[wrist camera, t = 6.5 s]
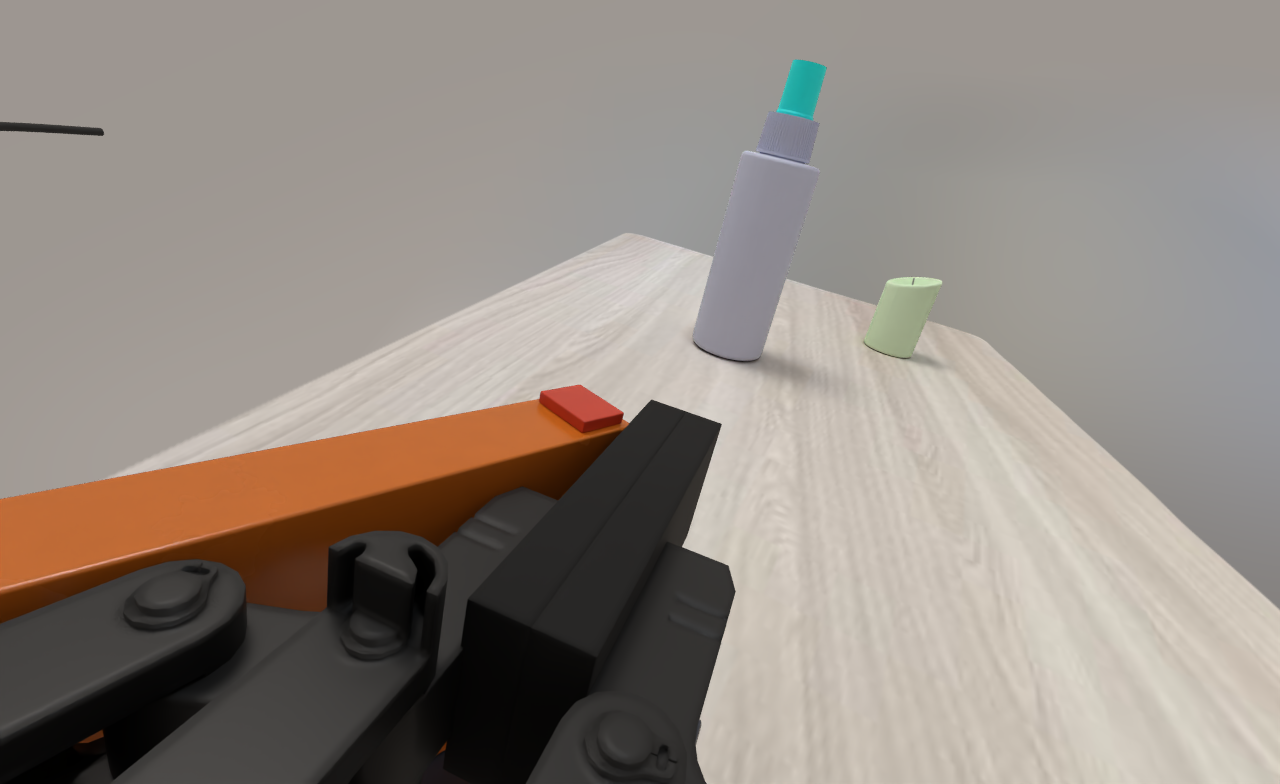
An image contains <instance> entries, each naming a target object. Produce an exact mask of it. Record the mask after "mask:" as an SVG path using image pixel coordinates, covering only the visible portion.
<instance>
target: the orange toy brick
mask: <svg viewBox="0 0 1280 784" xmlns="http://www.w3.org/2000/svg"><path fill="white" fill-rule="evenodd" d="M623 415H624V413H623V412H622V411H620V410H619V409H617V408H616V407H614V406H613V405H611V404H609V403H608V402H606V401H605V400H603V399H602V398H600V397H599V396H597V395H596V394H594V393H592V392H591V391H589V390H588V389H586V388H585V387H583V386H582V385H575V386H569V387H563V388H557V389H552V390H546V391H541V393H540V399H537V400H531V401H526V402H520V403H515V404H510V405H504V406H499V407H493V408H488V409H483V410H477V411H472V412H466V413H461V414H456V415H450V416H445V417H440V418H434V419H429V420H423V421H418V422H413V423H407V424H402V425H396V426H391V427H386V428H380V429H375V430H370V431H364V432H359V433H353V434H348V435H343V436H337V437H332V438H326V439H321V440H316V441H310V442H305V443H300V444H294V445H289V446H283V447H278V448H273V449H267V450H262V451H256V452H251V453H246V454H240V455H235V456H230V457H224V458H219V459H213V460H208V461H203V462H197V463H192V464H186V465H181V466H176V467H170V468H165V469H160V470H154V471H149V472H143V473H138V474H133V475H127V476H122V477H116V478H111V479H106V480H100V481H95V482H89V483H84V484H79V485H74V486H68V487H63V488H57V489H52V490H46V491H41V492H36V493H30V494H25V495H19V496H15V497H9V498H4V499H0V624H1V623H4V622H6V621H9V620H11V619H14V618H17V617H19V616H22V615H24V614H27V613H29V612H32V611H35V610H37V609H40V608H42V607H45V606H47V605H50V604H53V603H55V602H58V601H60V600H63V599H65V598H68V597H71V596H73V595H76V594H78V593H81V592H83V591H86V590H89V589H91V588H94V587H96V586H99V585H101V584H104V583H107V582H109V581H112V580H114V579H117V578H119V577H122V576H125V575H127V574H130V573H132V572H135V571H137V570H140V569H144V568H147V567H151V566H154V565H158V564H161V563H165V562H169V561H180V560H192V559H200V560H206V561H213V562H219V563H222V564H224V565H226V566H228V567H230V568H232V569H234V570H235V571H237V572H238V573H239V575H240V576H241V578H242V580H243V582H244V583H245V585H246V602H247V603H253V604H260V605H267V606H273V607H280V608H287V609H293V610H300V611H313V612H321V611H323V610H324V609H325V608H326V607H327V584H328V551H329V546H331V545H333V544H335V543H337V542H339V541H341V540H343V539H345V538H347V537H349V536H353V535H357V534H362V533H367V532H371V531H402V532H406V533H410V534H413V535H417V536H421V537H423V538H425V539H426V540H428V541H429V542H431V543H432V544H434V545H436V546H437V547H438V546H439V545H440V544H441V543H442V542H444V541H445V540H446V539H447V538H448V537H449V536H450V535H452V534H453V533H454V532H456V533H457V532H458V529H459V527H461V526H462V525H463V524H464V523H465V522H466V521H467V520H469V519H470V518H471V517H472V518H474V516H475V513H477V512H478V511H479V510H480V509H481V508H482V507H483V506H485V505H486V504H487V503H488V502H489V501H490V500H491V499H492V498H494V497H495V496H497V495H500V494H503V493H506V492H508V491H511V490H514V489H516V488H519V487H522V486H523V487H526V488H528V489H531V490H533V491H536V492H538V493H541V494H543V495H546V496H548V497H551V498H553V499H556V500H559V499H560V498H561V497H562V496H563V495H564V494H565V493H566V492H567V491H568V489H569V488H570V487H571V486H572V485H573V484H574V483H575V482H576V481H577V480H578V479H579V478H580V476H581V475H582V474H583V473H584V472H585V471H586V470H587V469H588V468H589V467H590V466H591V465H592V463H593V462H594V461H595V460H596V459H597V458H598V457H599V456H600V455H601V454H602V453H603V452H604V450H605V449H606V448H607V447H608V446H609V445H610V444H611V443H612V442H613V441H614V440H615V438H616V437H617V436H618V435H619V434H620V433H621V432H622V431H623V430H624V429H625V428H626V427H627V425H628V424H629V423H628V422H627V421H625V420H623ZM101 737H104V735H103V730H101V731H99V732H97V733H95V734H94V735H92V736H90V737H88V738H86V739H84V740H83V741H81V742H79V743H89V742H91V741H94V740H96V739H99V738H101ZM446 743H447V742H446ZM446 743H445V744H444V746H443V747H442V748H441V750H440V751H439V753H441V752H443V751H444V750H446ZM439 753H438V754H439ZM438 754H437V755H438Z"/></svg>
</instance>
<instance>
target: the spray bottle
mask: <svg viewBox="0 0 1280 784" xmlns="http://www.w3.org/2000/svg"><path fill="white" fill-rule="evenodd" d="M826 69H827V68H826V67H825V66H823V65H820V64H817V63H814V62H810V61H804V60H793V62H792V66H791V69H790V72H789V75H788V78H787V82H786V86H785V88H784V92H783V95H782V98H781V101H780V105H779V108H778V110H777V111H776V112H771V111H770V112H769V113H768V116H767V119H766V122H765V125H764V128H763V131H762V134H761V137H760V140H759V144H758V146H757V149H756V151H759V152H760V153H756V152H751V151H744V152H743V153H742V155H741V158H740V162H739V165H738V169H737V173H736V177H735V180H734V184H733V188H732V191H731V195H730V199H729V203H728V206H727V210H726V214H725V217H724V221H723V225H722V228H721V232H720V236H719V239H718V243H717V247H716V250H715V254H714V258H713V261H712V265H711V269H710V272H709V276H708V280H707V284H706V287H705V291H704V295H703V298H702V302H701V306H700V309H699V313H698V317H697V320H696V324H695V328H694V331H693V340H694V342H695V343H696V344H697V345H698V346H699V347H701V348H702V349H704V350H706V351H707V352H710V353H712V354H714V355H717V356H720V357H723V358H727V359H732V360H738V361H751V360H755V359H757V358H759V357H760V356H761V354H762V351H763V348H764V345H765V342H766V339H767V336H768V333H769V329H770V326H771V323H772V320H773V317H774V314H775V311H776V308H777V305H778V301H779V298H780V295H781V292H782V289H783V286H784V283H785V280H786V277H787V274H788V270H789V267H790V264H791V261H792V258H793V255H794V252H795V249H796V246H797V242H798V239H799V236H800V233H801V230H802V227H803V224H804V221H805V218H806V214H807V211H808V208H809V205H810V202H811V199H812V196H813V193H814V190H815V186H816V183H817V180H818V177H819V174H820V171H819V169H818V168H816V167H812V166H809V165H806V164H805V163H809V162H810V158H811V154H812V150H813V146H814V143H815V138H816V135H817V131H818V127H819V123H818V122H815V121H813V114H814V111H815V107H816V104H817V100H818V96H819V93H820V90H821V86H822V82H823V79H824V76H825V72H826Z"/></svg>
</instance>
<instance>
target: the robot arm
mask: <svg viewBox="0 0 1280 784" xmlns="http://www.w3.org/2000/svg"><path fill="white" fill-rule="evenodd" d="M0 131H26V132H46V133H63V134H80V135H98V136H103V135H104V132H103V130H102V129H101V128H90V127H75V126H61V125H45V124H30V123H9V122H0ZM721 425H722V424H720V423H717V422H714V421H712V420H709V419H706V418H703V417H700V416H697V415H694V414H691V413H688V412H686V411H683V410H680V409H677V408H674V407H671V406H668V405H665V404H662V403H660V402H657V401H654V400H651V401H650V402H649V403H648V404H647V405H646V406H645V407H644V408H643V409H642V410H641V411H640V412H639V414H638V415H637V416H636V417H635V418H634V419H633V420H632V421H631V422H630V423H629V424H628V425H627V427H626V428H625V429H624V430H623V431H622V432H621V433H620V434H619V435H618V436H617V437H616V438H615V440H614V441H613V442H612V443H611V444H610V445H609V446H608V447H607V448H606V449H605V450H604V452H603V453H602V454H601V455H600V456H599V457H598V458H597V459H596V460H595V461H594V462H593V463H592V465H591V466H590V467H589V468H588V469H587V470H586V471H585V472H584V473H583V474H582V475H581V476H580V478H579V479H578V480H577V481H576V482H575V483H574V484H573V485H572V486H571V487H570V488H569V489H568V491H567V492H566V493H565V494H564V495H563V496H562V497H561V498H560V499H559V500H556V499H553V498H551V497H548V496H546V495H543V494H541V493H538V492H536V491H533V490H531V489H528V488H526V487H523V486H522V487H519V488H516V489H514V490H511V491H508V492H506V493H503V494H500V495H497V496H495V497H494V498H492V499H491V500H490V501H489V502H488V503H487V504H486V505H485V506H483V507H482V508H481V509H480V510H479V511H478V512H477V513H475V516H474V518H472V517H471V518H470V519H469V520H467V521H466V522H465V523H464V524H463V525H462V526H461V527H459V529H458V532H457V533H456V532H454V533H453V534H452V535H450V536H449V537H448V538H447V539H446V540H445V541H444V542H442V543H441V544H440V545H439V546H438V547H437V546H436V545H434V544H432V543H431V542H429V541H428V540H426V539H425V538H423V537H421V536H417V535H413V534H410V533H406V532H402V531H371V532H367V533H362V534H357V535H353V536H349V537H347V538H345V539H343V540H341V541H339V542H337V543H335V544H333V545H331V546H329V551H328V584H327V607H326V608H325V609H324V610H323V611H321V612H313V611H300V610H293V609H287V608H280V607H273V606H267V605H260V604H253V603H247V602H246V585H245V583H244V582H243V580H242V578H241V576H240V575H239V573H238V572H237V571H235V570H234V569H232V568H230V567H228V566H226V565H224V564H222V563H219V562H213V561H206V560H200V559H192V560H180V561H169V562H165V563H161V564H158V565H154V566H151V567H147V568H144V569H140V570H137V571H135V572H132V573H130V574H127V575H125V576H122V577H119V578H117V579H114V580H112V581H109V582H107V583H104V584H101V585H99V586H96V587H94V588H91V589H89V590H86V591H83V592H81V593H78V594H76V595H73V596H71V597H68V598H65V599H63V600H60V601H58V602H55V603H53V604H50V605H47V606H45V607H42V608H40V609H37V610H35V611H32V612H29V613H27V614H24V615H22V616H19V617H17V618H14V619H11V620H9V621H6V622H4V623H1V624H0V784H422V776H423V773H424V772H425V771H426V769H427V768H428V766H429V765H430V764H431V762H432V761H433V759H434V758H435V757H436V755H437V754H438V753H439V751H440V750H441V748H442V747H443V746H444V744H445V743H446V742H447V743H446V750H445V757H444V763H443V769H444V770H446V771H447V772H449V773H451V774H453V775H455V776H457V777H459V778H461V779H463V780H465V781H466V782H468V783H470V784H706V782H705V780H704V777H703V775H702V772H701V769H700V767H699V764H698V761H697V753H696V746H695V740H696V733H697V726H698V722H699V719H700V715H701V712H702V708H703V705H704V701H705V698H706V694H707V690H708V687H709V683H710V680H711V676H712V673H713V669H714V666H715V662H716V659H717V655H718V652H719V648H720V645H721V640H722V638H723V634H724V631H725V627H726V623H727V619H728V616H729V613H730V609H731V606H732V602H733V599H734V595H735V592H736V591H735V588H734V584H733V581H732V577H731V574H730V570H729V566H728V565H725V564H723V563H720V562H718V561H715V560H713V559H710V558H708V557H705V556H703V555H700V554H698V553H695V552H693V551H690V550H688V549H685V548H683V547H682V545H683V543H684V541H685V539H686V537H687V534H688V531H689V528H690V525H691V522H692V518H693V515H694V512H695V509H696V505H697V502H698V499H699V496H700V493H701V489H702V486H703V483H704V480H705V477H706V473H707V470H708V467H709V464H710V460H711V457H712V454H713V451H714V448H715V444H716V441H717V438H718V435H719V431H720V428H721ZM101 730H103V735H104V737H101V738H99V739H96V740H94V741H91V742H89V743H79V742H81V741H83V740H84V739H86V738H88V737H90V736H92V735H94V734H95V733H97V732H99V731H101Z"/></svg>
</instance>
